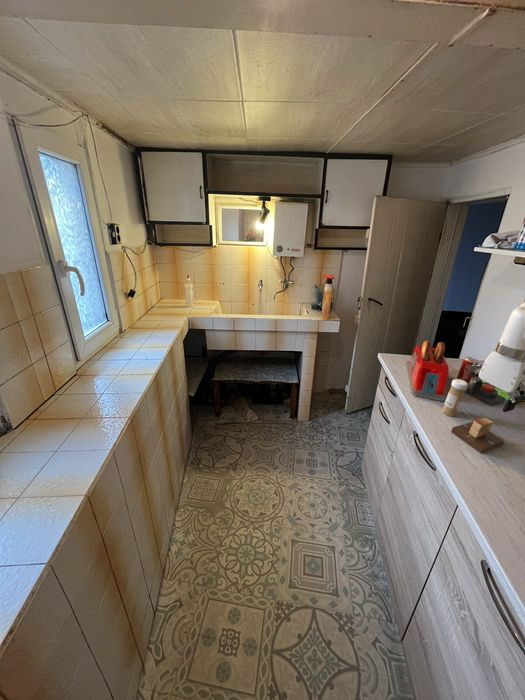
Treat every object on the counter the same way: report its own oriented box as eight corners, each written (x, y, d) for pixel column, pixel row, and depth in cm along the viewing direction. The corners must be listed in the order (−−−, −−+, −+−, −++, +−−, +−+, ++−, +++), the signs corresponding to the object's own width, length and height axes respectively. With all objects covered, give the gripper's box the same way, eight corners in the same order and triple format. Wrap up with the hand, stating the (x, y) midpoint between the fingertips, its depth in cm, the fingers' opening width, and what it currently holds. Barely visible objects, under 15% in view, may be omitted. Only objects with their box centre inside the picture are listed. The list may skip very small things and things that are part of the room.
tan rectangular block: (479, 429, 93) (485, 417, 91) (487, 434, 91) (493, 421, 89) (468, 433, 91) (474, 420, 89) (475, 438, 89) (481, 425, 87)
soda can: (455, 383, 124) (464, 359, 119) (455, 379, 128) (464, 355, 123) (469, 387, 122) (479, 363, 116) (469, 382, 125) (478, 358, 120)
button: (479, 388, 114) (481, 384, 114) (485, 387, 115) (487, 383, 115) (489, 393, 111) (490, 389, 110) (495, 391, 112) (496, 388, 112)
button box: (465, 392, 118) (468, 384, 116) (478, 389, 120) (482, 381, 119) (490, 406, 109) (494, 397, 108) (503, 402, 112) (507, 394, 110)
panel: (471, 426, 98) (473, 421, 97) (501, 445, 90) (504, 440, 89) (450, 431, 95) (452, 426, 94) (480, 453, 86) (483, 447, 85)
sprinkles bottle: (458, 416, 102) (471, 385, 97) (446, 416, 102) (458, 385, 97) (450, 409, 107) (462, 378, 101) (438, 409, 106) (450, 378, 101)
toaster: (446, 403, 110) (462, 360, 102) (410, 395, 114) (423, 354, 106) (434, 367, 137) (446, 332, 129) (405, 362, 141) (415, 327, 133)
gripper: (558, 363, 73) (529, 416, 80) (490, 338, 88) (470, 385, 95) (540, 367, 71) (512, 421, 78) (473, 341, 85) (455, 388, 93)
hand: (489, 401), depth 87 cm, fingers open, 9 cm apart
